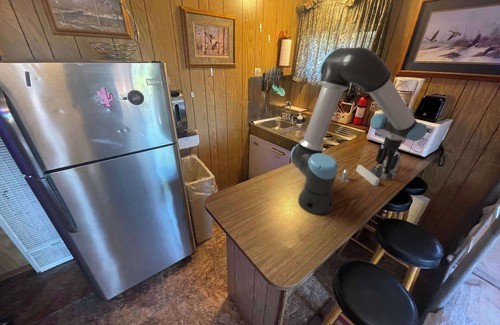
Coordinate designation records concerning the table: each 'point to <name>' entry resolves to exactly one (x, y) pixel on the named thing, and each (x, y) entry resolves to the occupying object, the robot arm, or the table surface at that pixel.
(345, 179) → the grey knobbed fixture
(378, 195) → the table surface
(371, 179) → the door edge
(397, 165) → the mug
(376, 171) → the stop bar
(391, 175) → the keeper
